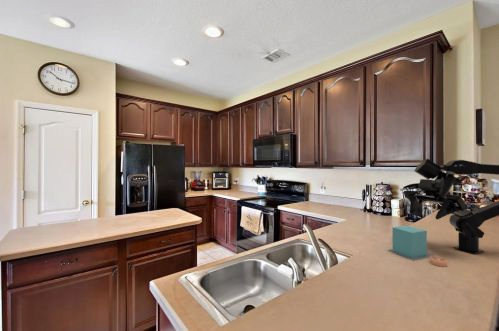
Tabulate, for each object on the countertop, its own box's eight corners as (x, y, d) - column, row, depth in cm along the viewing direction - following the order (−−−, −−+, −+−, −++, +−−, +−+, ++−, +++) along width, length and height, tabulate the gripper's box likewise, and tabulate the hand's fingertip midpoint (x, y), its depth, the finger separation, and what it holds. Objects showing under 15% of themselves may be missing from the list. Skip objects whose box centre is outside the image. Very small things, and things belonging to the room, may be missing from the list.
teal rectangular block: (406, 248, 88) (406, 225, 88) (426, 255, 81) (426, 230, 81) (392, 251, 85) (392, 227, 85) (412, 258, 78) (412, 232, 78)
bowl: (435, 261, 77) (435, 254, 77) (450, 267, 73) (450, 259, 73) (426, 263, 76) (426, 256, 76) (441, 269, 71) (441, 261, 71)
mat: (408, 247, 90) (408, 246, 90) (436, 256, 81) (436, 255, 81) (386, 251, 86) (386, 250, 86) (413, 261, 77) (413, 260, 77)
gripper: (407, 171, 96) (389, 198, 93) (461, 172, 79) (441, 206, 75) (420, 189, 99) (402, 216, 95) (474, 194, 82) (455, 227, 78)
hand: (422, 216), depth 86 cm, fingers open, 9 cm apart
